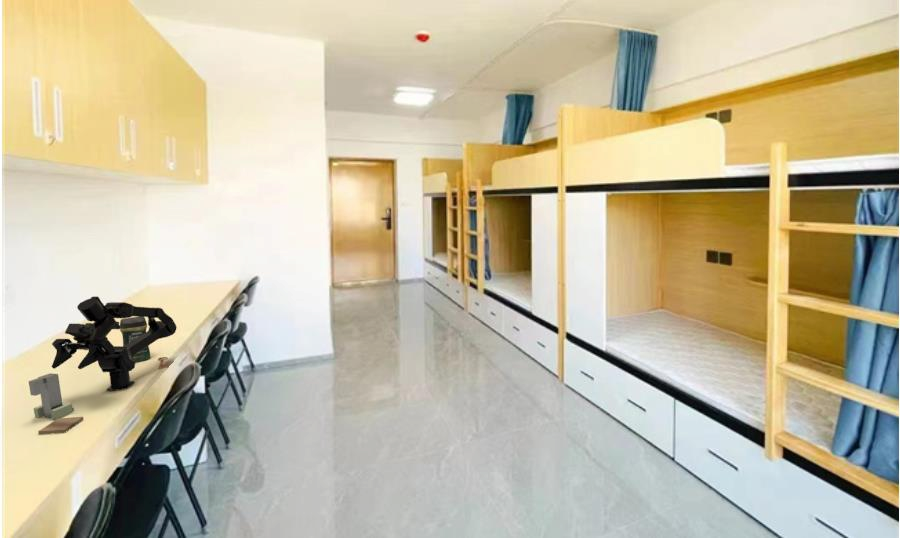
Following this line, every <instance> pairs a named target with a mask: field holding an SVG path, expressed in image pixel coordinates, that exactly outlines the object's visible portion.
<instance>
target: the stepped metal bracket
mask: <svg viewBox="0 0 900 538" xmlns="http://www.w3.org/2000/svg"><path fill="white" fill-rule="evenodd" d="M28 388H29V393H30V396H33V397H34V396H39V395H40V399H41V405H42V407H43V413H44V416H43V417H44V418H48V419H52V416H51V410H53V409H55V408H58V407H60V406H63V405H64V404H63V400H62V399H63V397H62V392H61V384H60V378H59V374H58V373H49V372H48V373H47V374H44V375H41V376H38V377H37V378H34V379H32V380H28Z"/></svg>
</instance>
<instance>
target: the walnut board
mask: <svg viewBox="0 0 900 538" xmlns="http://www.w3.org/2000/svg"><path fill="white" fill-rule="evenodd" d="M83 419H84V416H75V417H74V416H73V417H62V418H58V419H57V420H52V422H50V423H49V424H48V425H46V426H45V427H42V428H41V429H40V430H38V431H37V433H38V435H39V434H40V435H51V433H54V434H65V433H67V432H68V431H70V430H71V429H72V427H73V428H74V427H75V425H76V424H77V425H79V424H80V423H81V422H83V421H84V420H85V419H84V420H83ZM82 420H83V421H82ZM79 422H80V423H79ZM77 425H76V426H77ZM69 429H70V430H69ZM66 431H67V432H66ZM64 432H65V433H64Z"/></svg>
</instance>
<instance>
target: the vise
mask: <svg viewBox="0 0 900 538" xmlns="http://www.w3.org/2000/svg"><path fill="white" fill-rule="evenodd" d="M73 411H74V412H75V409H74V407H73V406H72V403H66V404H63V406H60V407H58V408H55V409H53V410H51V416H52V418H51V420H52V421H55V420H57V419H58V418H65V417H66V415H67V416H68V414H69V415H71V414H73V413H74V412H73ZM72 412H73V413H72ZM33 413H34V418H38V419H39V418H43V417H44V413H43V407H42V404H41V405H38V406H36V407H34V408H33ZM70 413H71V414H70Z"/></svg>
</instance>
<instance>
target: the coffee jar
mask: <svg viewBox="0 0 900 538" xmlns="http://www.w3.org/2000/svg"><path fill="white" fill-rule="evenodd" d="M119 325H120V329H119V331H120V332H121V335H122V346H125V345H126V344H128V343H129V342H131V341H133V340H134V339H136V338H138V337H139V336H141V335H142V334H144V333H146V332H147V328H148V322H147V320H146V317H138V316H132V317H129V318H120V321H119ZM150 358H151V351H150V345H149V346H147V347H146V348H144V349H143V350H141V351H139V352H138V353H136V354H135V355H133V356H132V357H131V360H132V361H134V362H135V363H137V362H138V363H139V362H142V361H143V362H144V361H146V360H149V359H150Z"/></svg>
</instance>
